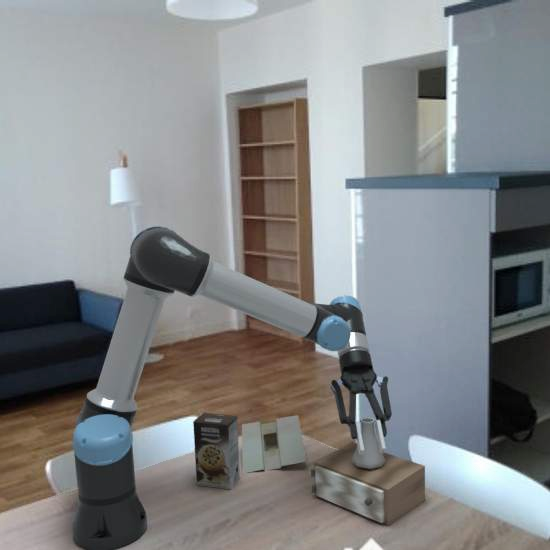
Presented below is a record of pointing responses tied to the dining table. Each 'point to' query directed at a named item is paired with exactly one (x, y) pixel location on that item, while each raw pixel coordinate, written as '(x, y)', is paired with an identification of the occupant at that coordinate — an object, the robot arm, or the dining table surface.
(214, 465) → the coffee box
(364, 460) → the flask
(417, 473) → the cabinet
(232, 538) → the dining table surface
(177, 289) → the robot arm
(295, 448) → the grooved block with hole
